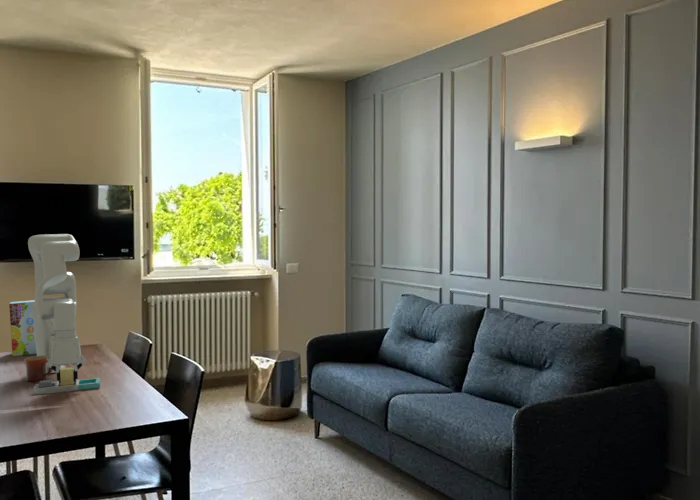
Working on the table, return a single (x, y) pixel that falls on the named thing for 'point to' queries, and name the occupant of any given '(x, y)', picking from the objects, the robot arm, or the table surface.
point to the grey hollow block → (46, 383)
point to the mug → (36, 368)
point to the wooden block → (67, 376)
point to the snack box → (22, 328)
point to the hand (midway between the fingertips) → (67, 381)
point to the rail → (68, 386)
